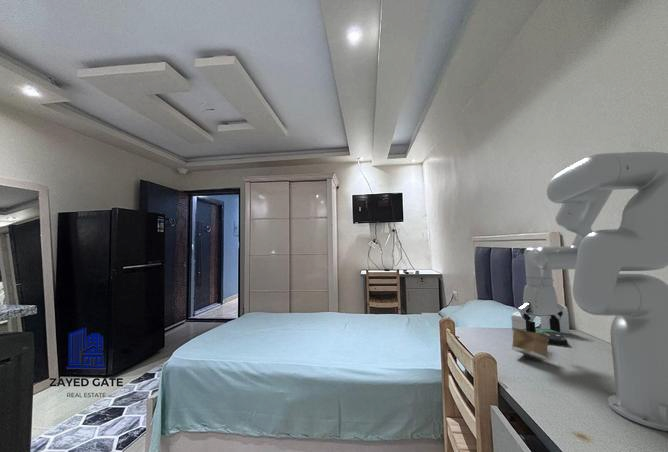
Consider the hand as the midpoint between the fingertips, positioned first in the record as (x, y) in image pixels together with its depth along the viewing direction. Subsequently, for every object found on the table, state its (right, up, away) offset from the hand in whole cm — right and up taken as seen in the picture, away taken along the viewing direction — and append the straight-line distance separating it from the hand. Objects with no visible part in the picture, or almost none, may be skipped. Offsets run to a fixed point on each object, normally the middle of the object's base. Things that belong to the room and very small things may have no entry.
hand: (543, 331), depth 95 cm
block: (-4, -1, 0) cm, 4 cm away
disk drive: (+16, -11, +18) cm, 26 cm away
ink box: (+1, -10, +11) cm, 15 cm away
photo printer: (+27, -11, +28) cm, 40 cm away
